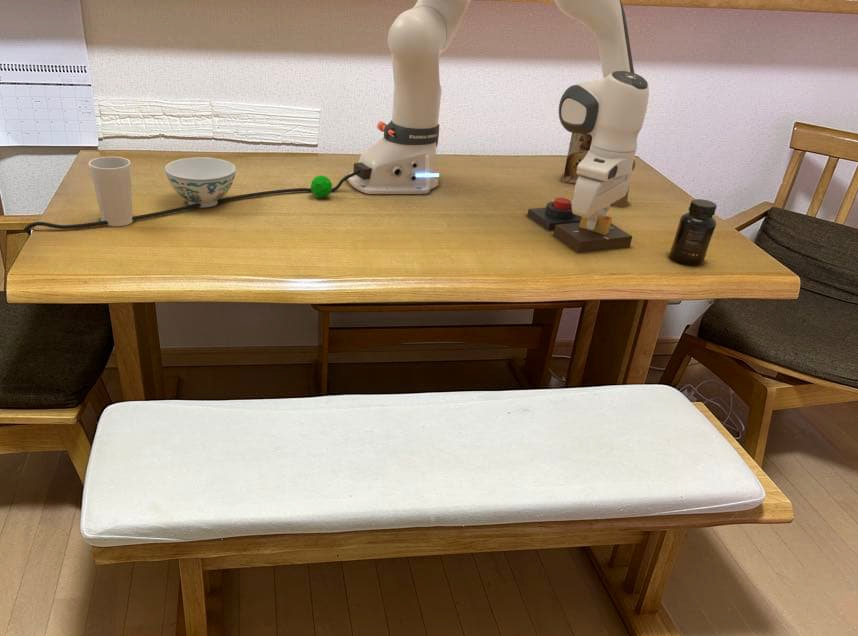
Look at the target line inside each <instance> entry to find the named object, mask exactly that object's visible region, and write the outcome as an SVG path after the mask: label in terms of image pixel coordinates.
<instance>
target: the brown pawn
mask: <svg viewBox="0 0 858 636" xmlns="http://www.w3.org/2000/svg"><path fill="white" fill-rule="evenodd" d="M635 167H636V160H635V159H634V161H633V165H632V172H633V171H634V170H635ZM629 191H630V187H629V188H628V191H627V193H626V195H625V196H624V197H622V198H621V199H619V200H617V201H616V202H614V203H612V204H610V207H617V208H623V207H626V206H627V205H628V200H629V199H628V198H629Z"/></svg>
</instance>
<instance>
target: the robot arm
mask: <svg viewBox="0 0 858 636" xmlns="http://www.w3.org/2000/svg"><path fill="white" fill-rule="evenodd" d="M471 1H472V0H417V1H416V3H415V5H413V7H412V8H410V9H408V10H405V11H403V12H402V13H400V14H399V15H398V16H397V17H396V18H395V20H394V21H393V23H392V24H391V26H390V28H389V30H388V34H387V46H388V50H389V52H390V53H391V67H392V76H393V97H392V98H393V100H392V102H393V103H392V113H391V120H390V121H389V123H387V124H386V123H385V122H384V121H382V120H381V121H378V123H376V129H378V130H379V131H380V132H383V137H382V138H380V139H379V140H378V141H376V142H375V143H374V144H373V145H372V146H370V147H369V148H368V149H366V150H365V151H364V152H362V153H361V155H360V156H359V160H358V162H354V163H353V171H350V172H349V173H348V174H347V175H346V176H344V177H343V178H342V179H340V180H339V182H338V183H337V184H336V185H335V186H334V187H332V190H331V193H332V192H335V191H338V190H339V189H340V188H341V186H342V185H343V183H344V182H345V181H347V182H348V183H349V184H350V185H351V186H352V187H353V188H354V189H356V190H357V191H359V192H361V193H364V194H368V195H426V194H427V195H428V194H429V193H430V191H431V190H433V189H435V188H437V187H438V185H439V179H438V178H439V177H440V173H438V172H437V171H438V169H437V147H438V144H439V138H440V124H439V118H440V109H441V101H442V100H441V99H442V86H441V79H440V55H441V54H443V53H444V52H445V51H446V50H447V49H448V48H449V46H450V45H451V43H452V41H453V39H454V37H455V35H456V34H457V31H458V30H459V28H460V25H461V23H462V21H463V19H464V17H465V15H466V12H467V10H468V8H469V5H470V2H471ZM553 1H554V4H555V6H556V7H557V8H558V9H559V10H560V12H562V13H563V14H564V15H565V16H567V17H568V18H571V19H573V20H575V21H577V22H579V23H580V24H582V25H583V26H585V27H586V28H588V30H589V31H591V33H592V34H593V35H594V38H595V40H596V42H597V47H598V53H599V59H600V65H601V72H602V78H600V79H596V80H592V81H587V82H580V83H577V84H572V85H571V86H569V87H567V89H566V90H564V91H563V94H562V96H561V98H560V99H559V104H558V118H559V122H560V124H561V126H562V127H563V128H564V130H565V131H566V132H569V133H571V134H572V133H577V134H590V135H591V136H592V142H591V146H590V150H589V151H588V153H587V155H586V156H585V157H584V159H583V160H582V161H581V162H580V163H579V164H578V167H577V171H576V173H577V174H579V175H580V176H579V177H578V179H577V181H576V183H575V185H574V190H573V195H572V201H571V204H572V212H573V214H575V215H578V216H581V217H585V218H588V221H587V228H589V229H595V228H596V227H597V224H598V221H599V220H597V217H598V215H601V216H605V217H606V216H607V214H608V212H609V210H610V207H611V206H610V204H612V203H614V202H616V201H617V200H619V199H621V198H622V197H624V196H625V195H626V193H627V191H628V188H629V189H630V184H631V177H632V173H633V171H632V165H633V161H634V160H635V156H636V152H637V149H638V137H639V134H640V132H641V130H642V128H643V126H644V123H645V118H646V114H647V110H648V104H649V96H650V95H649V94H650V88H649V82H648V81H647V80H646V78H644V76H641V75H640V74H637V73H635V69H634V62H633V56H632V50H631V42H630V36H629V29H628V24H627V19H626V13H625V9H624V6H623V2H622V0H553ZM296 192H308V193H309V192H310V193H312V191H311V187H295V188H284V189H275V190H265V191H259V192H251V193H245V194H244V193H243V194H238V195H232V196H228V197H227V196H226V197H222V198H220V199H219V200H217V203H218V204H220V203H224V202H229V201H234V200H240V199H247V198H252V197H253V198H254V197H259V196H267V195H268V196H269V195H275V194H286V193H296ZM200 206H201V204H193V205H189V204H188V205H184V206H180V207H175V208H170V209H165V210H160V211H157V212H150V213H145V214H140V215H133V217H132V220H133V221H137V220H142V219H147V218H152V217H159V216H163V215H169V214H173V213H177V212H182V211H186V210H190V209H194V208H195V209H197V208H201V207H200ZM122 220H123V219H122ZM106 224H108V222H107V221H102V220H100V221H92V222H85V223H75V224H74V223H73V224H57V223H51V222H46V221H34V222H30V223H29V224H27V225H26V226H25V227H23V229H22V232H27V231H29V230H31V229H32V228H33V227H39V226H41V227H47V228H48V227H49V228H53V229H60V230H67V229H69V230H70V229H82V228H91V227H98V226H107V225H106Z"/></svg>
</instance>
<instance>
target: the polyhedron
mask: <svg viewBox="0 0 858 636" xmlns="http://www.w3.org/2000/svg"><path fill="white" fill-rule="evenodd" d="M310 188H311V191H312V192H311V194H313V196H315V197H317V198H319V199H326V198H327V197H328V196H330V195H331V193H332V192H331V190H332V188H333V183H332V181H331V179H330V178H328V177H327V176H325V175H316V176H315V177H314V178H313V179H312V180H311V184H310Z"/></svg>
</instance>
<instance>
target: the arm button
mask: <svg viewBox="0 0 858 636" xmlns="http://www.w3.org/2000/svg"><path fill="white" fill-rule="evenodd" d="M553 202H554V205H553V207H554V208H557V209H562V210H569V209H570V204H572V201H571V200H570V199H569V198H565V197H556V198H554V201H553Z"/></svg>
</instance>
